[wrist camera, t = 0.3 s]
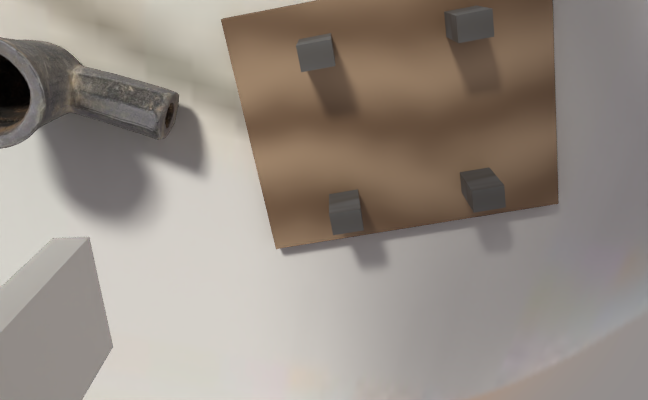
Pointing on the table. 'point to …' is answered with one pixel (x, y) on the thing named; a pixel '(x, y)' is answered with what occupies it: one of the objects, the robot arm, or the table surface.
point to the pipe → (73, 93)
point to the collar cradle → (396, 112)
